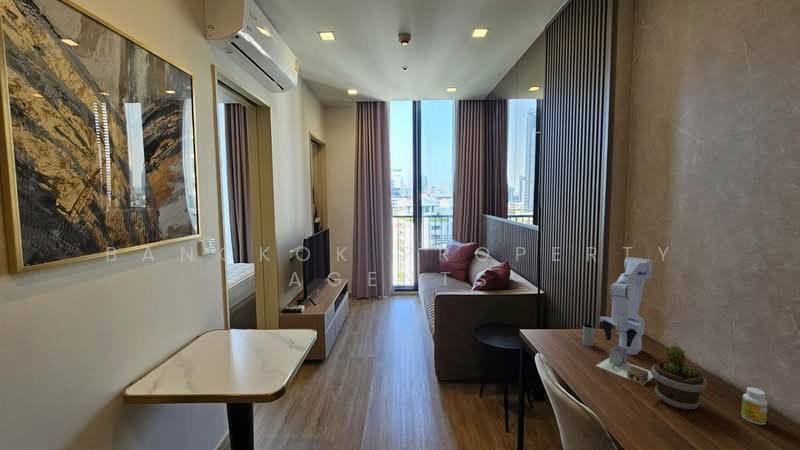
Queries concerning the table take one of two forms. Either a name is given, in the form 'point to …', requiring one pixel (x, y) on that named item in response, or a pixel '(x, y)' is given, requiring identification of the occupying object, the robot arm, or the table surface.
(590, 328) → the grey cylinder
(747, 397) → the supplement bottle
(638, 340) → the robot arm
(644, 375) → the cover
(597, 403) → the table surface
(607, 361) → the base
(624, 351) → the grey block
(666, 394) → the flowerpot
